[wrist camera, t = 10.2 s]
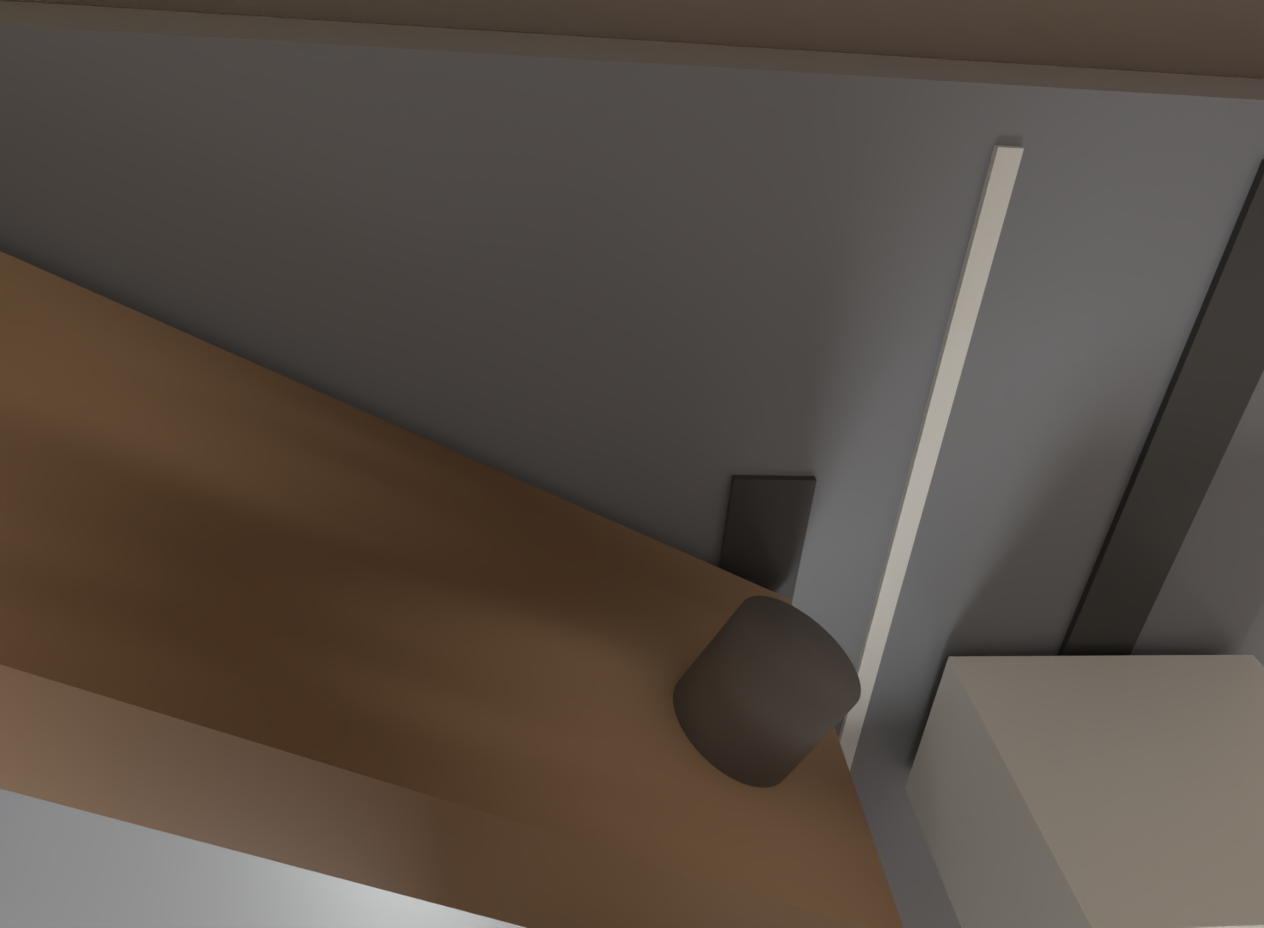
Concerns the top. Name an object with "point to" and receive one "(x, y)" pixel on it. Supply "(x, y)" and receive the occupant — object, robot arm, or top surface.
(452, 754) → the brown wooden bar
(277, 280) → the grey piece
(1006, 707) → the fader
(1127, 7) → the top surface
